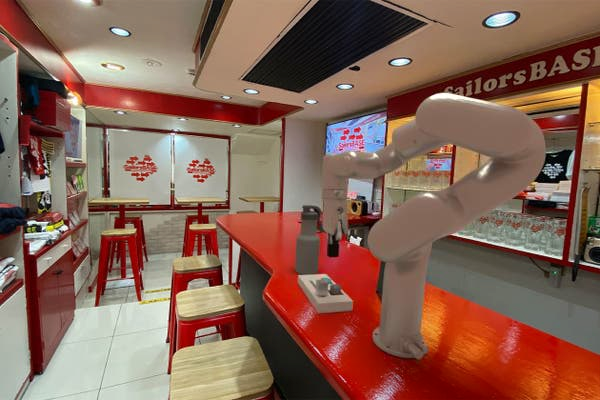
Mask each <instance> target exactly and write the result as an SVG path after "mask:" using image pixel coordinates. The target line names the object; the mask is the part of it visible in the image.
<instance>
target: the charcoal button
mask: <svg viewBox="0 0 600 400" xmlns="http://www.w3.org/2000/svg"><path fill="white" fill-rule="evenodd" d="M341 290H342V285H340V284H337V283H335V284H332V285H330V295H331V296H333V295H341Z"/></svg>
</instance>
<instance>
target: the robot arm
mask: <svg viewBox="0 0 600 400" xmlns="http://www.w3.org/2000/svg"><path fill="white" fill-rule="evenodd" d="M545 140H546V139H545V136H544V132H543V131H542V128H541V127H540V126H539V124H538V123H536V121H535V120H533V118H532V117H530V116H529V115H528V114H527V113H525V112H524V111H522V110H521V109H518V108H516V107H514V106H510V105H507V104H502V103H496V102H493V101H487V100H483V99H478V98H474V97H468V96H464V95H460V94H456V93H451V92H439V93H435V94H433V95H431V96H428V97H427V98H425V99H424V100H423V101H422V102H421V103H420V104H419V106H418V107H417V110H416V112H415V117H414V118H413V119H411V120H410V121H407V122H404V123H403V124H400V125H399V126H396V127H395V128H394V129H393V131H392V133H391V142H390V143H389V144H387V145H386V146H384V147H382V148H380V149H378V150H375V151H374V152H364V151H357V150H346V151H342V152H340V153H335V152H334V153H332V152H331V153H326V154H325V155H324V156H323V158H322V181H321V183H322V184H321V185H322V186H321V188H322V189H321V201H323V210H322V224H323V225H322V231H324V232H325V233H326V242H327V243H326V246H327V247H326V256H327V257H328V258H339V256H340V244H341V243H340V241H341V240H342V238H343V235H344V236H346V235H348V233H349V231H348V229H349V222H348V221H349V219H348V218H349V217H348V203H347V202H348V191H349V190H348V186H349V179H352V180H353V179H356V180H359V179H360V180H372V179H378V178H379V177H382V176H384V175H388V174H389V173H392V172H394V171H396V170H398V169H400V168H401V167H403V166H404V165H406V164H407V163H408V162H410V161H411V160H414V159H416V158H419V157H421V156H424V155H426V154H428V153H431V152H434V151H436V150H438V149H441V148H443V147H446V146H448V145H449V146H450V145H452V146H453V145H454V146H456V147H459V148H462V149H465V150H468V151H471V152H475V153H477V154H480V155H483V156H485V157H489V158H488V160H486V162H485V163H484V164H482V165H480V166H478V167H476V168H475V169H473V170H471V171H469V172H468V173H467V174H465V175H464V176H462V177H461V178H459V179H458V180H457V181H455V182H454V183H452V184H450V185H449V186H447V187H445V188H443V189H441V190H428V191H422V192H420V193H417V194H415V195H413V196H411V197H409V198H408V199H407V200H405V201H404V202H402V203H401V204H399V206H397V207H396V208H394V209H392V210H391V211H390V212H389V213H387V214H386V215H385V216H383V217H382V218H380V219H379V220H378V221H376V222H375V223H374V224H373V226H372V227H371V228H370V230H369V233H368V235H367V247H368V249H369V251H370V253H371V255H373V257H375V258H376V259H377V260H379V261H380V262H381V261H383V262H386V265H385V270H384V280H383V292H382V298H381V304H380V305H381V307H380V320H379V321H380V323H379V326H378V327H376V328H375V329H374V330H373V332H372V341H373V342H374V344H375V345H376V347H378V348H379V349H380V350H382V351H384V352H386V353H387V354H389V355H392V356H395V357H399V358H404V359H416V360H421V359H423V357H424V355H425V354H427V353H428V352H429V348H428V347H427V342H426V341H425V339H424V335H423V334H422V323H423V322H422V319H423V309H424V300H425V299H424V297H425V287H426V279H427V271H428V264H429V259H430V255H431V252H432V247H433V243H434V242H435V241H437V240H440V239H441V238H443V237H447V236H451V235H453V234H456V233H458V232H460V231H461V230H462V229H464V228H465V227H467V226H468V225H470V224H472V223H473V222H475V221H477V220H478V219H481V218H482V217H484V216H486V215H488V214H489V213H491V212H492V211H494V210H496V209H497V208H498V207H500V206H502V205H504V204H505V203H507V202H509V201H510V200H512V199H513V198H515V197H517V196H518V195H520V194H521V193H522V192H524V191H526V189H527V188H528V187H530V185H531V184H532V183H534V181H535V180H536V179H537V177H538V176H539V174H540V173H541V171H542V168H543V167H544V164H545V161H546V155H547V154H546V153H547V150H546V149H547V147H546V141H545Z"/></svg>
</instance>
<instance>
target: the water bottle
mask: <svg viewBox="0 0 600 400" xmlns="http://www.w3.org/2000/svg"><path fill="white" fill-rule="evenodd" d="M311 210H312V211H311ZM321 218H323V211H322V209H321V208H320V207H319V206H318V205H317V206H316V205H313V204H304V205H302V211H301V213H300V221H301V222H300V233H299V234H298V235H297V236H296V238H295V239H296V241H295V242H296V243H295V257H294V258H295V261H294V271H295V272H296V273H297V274H298V275H315V274H318V273H319V259H320V245H321V241H320V240H321V239H320V236H319V235H321V234H322V233H323V221H321ZM318 224H319V225H320V227H319V228H320V229H319V230H320V231H318V230H317V229H318V227H317V226H318ZM318 234H319V235H318Z"/></svg>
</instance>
